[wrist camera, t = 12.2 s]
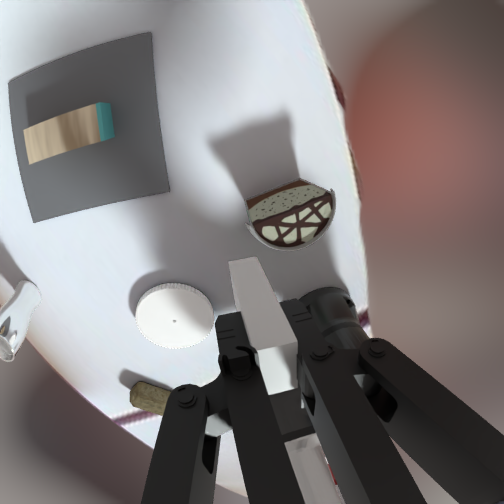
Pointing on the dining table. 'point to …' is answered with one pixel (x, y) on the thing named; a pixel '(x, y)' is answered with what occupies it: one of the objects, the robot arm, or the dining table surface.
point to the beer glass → (17, 318)
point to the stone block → (149, 398)
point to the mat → (101, 153)
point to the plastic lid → (174, 315)
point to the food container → (291, 215)
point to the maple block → (69, 131)
